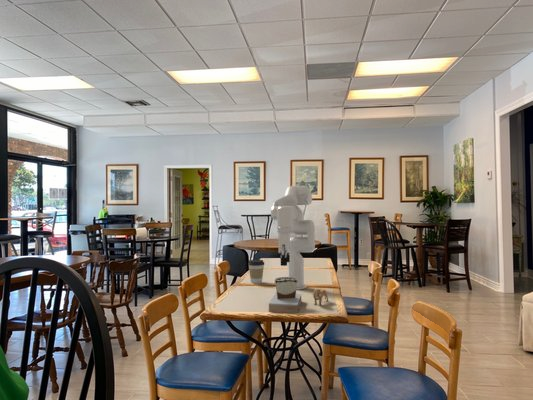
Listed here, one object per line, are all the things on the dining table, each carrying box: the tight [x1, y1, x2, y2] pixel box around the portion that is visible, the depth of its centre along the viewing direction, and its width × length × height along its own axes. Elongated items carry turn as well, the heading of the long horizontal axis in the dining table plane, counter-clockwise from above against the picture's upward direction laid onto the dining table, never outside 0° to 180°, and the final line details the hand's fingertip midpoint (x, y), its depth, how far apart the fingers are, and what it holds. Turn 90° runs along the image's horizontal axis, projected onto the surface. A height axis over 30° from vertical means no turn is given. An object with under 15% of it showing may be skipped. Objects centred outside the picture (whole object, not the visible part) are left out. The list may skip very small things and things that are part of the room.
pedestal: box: [268, 292, 302, 314], centre depth 177 cm, size 20×14×4 cm
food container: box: [274, 276, 298, 299], centre depth 179 cm, size 12×6×10 cm, turn 97°
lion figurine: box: [312, 288, 329, 306], centre depth 181 cm, size 15×5×9 cm, turn 153°
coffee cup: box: [247, 258, 265, 285], centre depth 232 cm, size 11×11×15 cm
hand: (285, 263), depth 177 cm, fingers open, 9 cm apart
